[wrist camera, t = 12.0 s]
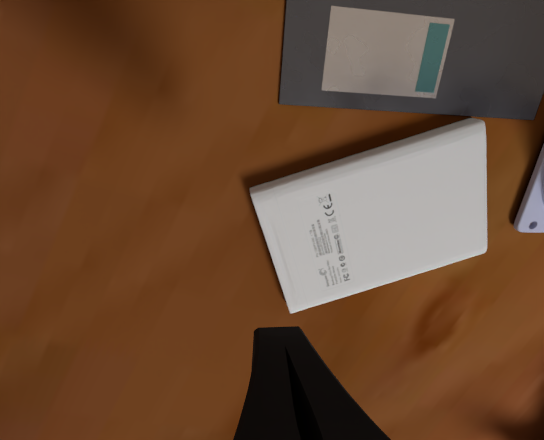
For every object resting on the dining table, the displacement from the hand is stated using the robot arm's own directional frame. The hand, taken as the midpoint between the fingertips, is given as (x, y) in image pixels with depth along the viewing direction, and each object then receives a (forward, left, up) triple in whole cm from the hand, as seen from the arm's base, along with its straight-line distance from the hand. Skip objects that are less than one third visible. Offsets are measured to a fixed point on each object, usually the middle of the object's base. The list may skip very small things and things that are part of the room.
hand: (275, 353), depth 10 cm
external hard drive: (-7, -1, -10) cm, 12 cm away
